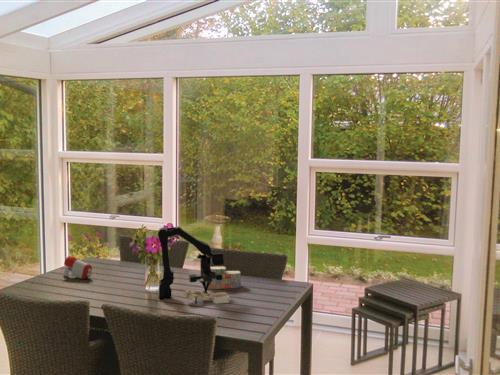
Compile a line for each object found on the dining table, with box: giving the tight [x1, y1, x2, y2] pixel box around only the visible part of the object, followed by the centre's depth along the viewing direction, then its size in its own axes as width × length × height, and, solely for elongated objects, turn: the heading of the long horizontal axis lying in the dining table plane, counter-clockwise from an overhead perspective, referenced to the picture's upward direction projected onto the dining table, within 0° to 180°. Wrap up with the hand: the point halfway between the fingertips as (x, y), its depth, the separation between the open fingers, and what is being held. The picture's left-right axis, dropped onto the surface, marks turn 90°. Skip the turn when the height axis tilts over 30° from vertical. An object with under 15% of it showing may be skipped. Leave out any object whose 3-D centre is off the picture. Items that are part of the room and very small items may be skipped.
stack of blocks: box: [205, 265, 242, 290], centre depth 315 cm, size 21×6×12 cm, turn 100°
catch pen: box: [210, 291, 230, 305], centre depth 290 cm, size 9×9×3 cm
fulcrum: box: [191, 296, 205, 306], centre depth 287 cm, size 5×9×4 cm, turn 16°
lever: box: [184, 288, 212, 302], centre depth 290 cm, size 14×14×3 cm
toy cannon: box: [62, 255, 93, 281], centre depth 327 cm, size 6×20×14 cm, turn 69°
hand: (205, 292), depth 297 cm, fingers closed, pressing on lever
